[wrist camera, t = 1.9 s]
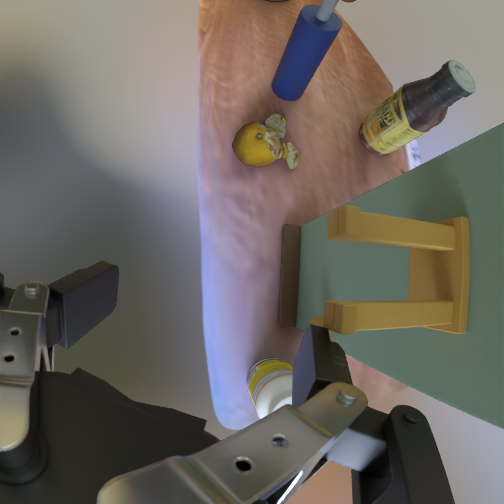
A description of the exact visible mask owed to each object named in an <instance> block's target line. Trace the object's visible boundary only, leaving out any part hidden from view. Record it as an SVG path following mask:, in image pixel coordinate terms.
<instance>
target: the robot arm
mask: <svg viewBox="0 0 504 504" xmlns="http://www.w3.org/2000/svg"><path fill="white" fill-rule="evenodd" d="M267 1H274V2H281V1H287V0H267ZM118 280H119V268H118V267H117V266H116V265H113V264H110V263H107V262H105V261H100V262H98V263H96V264H94V265H92V266H90V267H88V268H84V269H79V270H77V271H75V272H73V273H71V275H70V274H69V275H67V276H65V278H61V279H59V280H57V281H55V282H53V283H51V284H49V285H47V286H46V285H45V284H43V283H40V282H25V283H22V284H20V285H18V286H17V287H16V289H12V288H8V287H5V286H4V276H3V274H1V273H0V504H284V503H286V502H287V501H288V500H289V499H290V497H292V496H293V495H294V494H295V493H296V492H297V491H298V490H299V489H300V488H301V487H302V486H304V485H305V484H306V483H307V482H308V481H309V480H310V479H311V478H312V477H314V476H315V475H316V474H317V473H318V472H319V471H320V470H321V469H322V468H323V467H324V466H325V465H326V464H327V463H328V462H329V461H332V462H334V463H337V464H340V465H343V466H345V467H348V468H351V473H352V495H353V504H455V502H454V499H453V495H452V492H451V488H450V485H449V482H448V478H447V475H446V472H445V469H444V466H443V463H442V460H441V457H440V454H439V451H438V448H437V445H436V442H435V439H434V437H433V434H432V431H431V428H430V426H429V423H428V421H427V419H426V417H425V416H424V415H423V414H422V413H421V412H420V411H419V410H417V409H415V408H413V407H411V406H407V405H398V406H395V407H394V408H393V409H392V411H391V412H390V414H386V413H383V412H380V411H378V410H375V409H373V408H370V407H368V406H367V404H368V400H367V397H366V395H365V394H364V393H363V392H362V391H361V390H360V389H358V388H357V387H355V386H353V383H352V379H351V375H350V371H349V367H348V363H347V360H346V356H345V352H344V350H343V349H342V348H341V346H340V345H339V344H338V343H337V342H332V341H331V340H330V335H329V330H328V329H327V328H325V327H322V326H318V325H314V324H309V325H308V327H307V329H306V332H305V334H304V337H303V340H302V342H301V345H300V348H299V350H298V353H297V355H296V358H295V362H294V366H293V379H292V405H290V404H286V405H284V406H282V407H280V408H279V409H277V410H275V411H274V412H272V413H270V414H269V415H267V416H265V417H263V418H262V419H260V420H258V421H257V422H255V423H253V424H251V425H249V426H248V427H246V428H244V429H242V430H240V431H239V432H237V433H235V434H233V435H231V436H229V437H227V438H225V439H223V440H222V441H221V440H219V439H218V438H217V437H215V436H214V435H212V434H210V433H209V432H207V431H205V425H206V422H207V420H205V419H201V418H198V417H195V416H192V415H189V414H186V413H183V412H180V411H177V410H174V409H171V408H165V407H160V406H155V405H150V404H145V403H140V402H136V401H133V400H131V399H129V398H128V397H126V396H125V395H123V394H122V393H121V392H119V391H118V390H116V389H115V388H114V387H112V386H111V385H110V384H109V383H107V382H106V381H104V380H102V379H100V378H98V377H96V376H94V375H92V374H90V373H88V372H86V371H84V370H82V369H80V368H77V369H76V370H75V371H74V372H73V373H72V374H71V375H70V374H66V373H61V372H54V347H53V345H55V344H58V345H60V346H62V347H64V348H65V349H68V348H70V347H71V346H72V345H73V344H74V343H76V342H77V341H78V340H79V339H80V338H82V337H83V336H84V335H85V334H86V333H88V332H89V331H90V330H91V329H92V328H94V327H95V326H96V325H97V324H99V323H100V322H101V321H102V320H104V319H105V318H106V317H107V316H108V315H110V314H111V313H112V312H113V310H114V309H115V306H116V303H117V293H118Z"/></svg>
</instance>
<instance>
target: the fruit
mask: <svg viewBox="0 0 504 504" xmlns="http://www.w3.org/2000/svg"><path fill="white" fill-rule="evenodd" d="M285 125H286V120H285V119H284V117H283V115H280V114H276V113H274V114H271V115H270V116H269V117H268V118H267V119H266V120H265V125H264V124H261V123H259V122H251V123H249V124H247V125H244V126H243V127H242V128H241V129H240V130H239V131H238V132H237V133H236V136H235V138H234V141H233V143H232V148H233V151H234V152H235V155H236V156H238V158H239V159H240V160H241V161H242V162H243V163H244V164H246V165H250V166H252V165H253V166H254V167H261V166H265V165H268V164H272V163H273V162H274V161H276V159H282V158H284V159H285V160H286V161H287V162H288V167H289V168H290V169H295V168H296V166H297V163H298V162H299V159H300V152H299V151H298V150H297V149H296V148H295V147H293V146H292V143H284V142H280V140H279V139H280V138H281V137H284V135H285V134H286V130H285Z"/></svg>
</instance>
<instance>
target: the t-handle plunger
mask: <svg viewBox="0 0 504 504" xmlns="http://www.w3.org/2000/svg"><path fill="white" fill-rule="evenodd" d="M338 1H339V0H323V1H322V3H321V5H320V6H318V5H307V6H305V7H303V8H302V9H301V11H300V14H299V16H298V19H297V21H296V24H295V26H294V28H293V31H292V33H291V36H290V38H289V41H288V43H287V46H286V48H285V51H284V53H283V56H282V58H281V61H280V64H279V66H278V69H277V71H276V74H275V76H274V79H273V82H272V89H273V91H274V93H275V94H276V95H277V96H278V97H280V98H282V99H284V100H289V101H292V100H296V99H298V98H300V97H301V96H302V94H303V92H304V90H305V89H306V87H307V85H308V84H309V82H310V80H311V78H312V77H313V75H314V73H315V71H316V70H317V68H318V66H319V65H320V63H321V61H322V59H323V58H324V56H325V54H326V53H327V51H328V49H329V48H330V46H331V44H332V42H333V41H334V39H335V37H336V36H337V34H338V32H339V31H340V29H341V27H342V22H341V19H340V18H339V17H338V16H337V15H336V14H335V13H334V12H333V10H334V8H335V6H336V5H337V2H338ZM342 1H344V2H354V1H356V0H342Z"/></svg>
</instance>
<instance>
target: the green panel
mask: <svg viewBox="0 0 504 504" xmlns="http://www.w3.org/2000/svg"><path fill="white" fill-rule="evenodd" d="M309 324H314V325H318V326H322V327H325V328H327V329H328V330H329V335H330V340H331V341H332V342H337V343H338V344H339V345H340V346H341V348H342V349H343V350H344V352H345V354H347V355H349V356H351V357H353V358H355V359H357V360H359V361H360V362H362V363H364V364H366V365H368V366H370V367H372V368H374V369H376V370H378V371H380V372H382V373H384V374H386V375H388V376H390V377H392V378H394V379H396V380H398V381H400V382H402V383H404V384H406V385H408V386H410V387H412V388H414V389H416V390H418V391H420V392H422V393H425V394H426V395H429V396H431V397H433V398H435V399H437V400H439V401H441V402H444V403H446V404H448V405H450V406H452V407H454V408H456V409H459V410H461V411H463V412H465V413H467V414H470V415H472V416H474V417H476V418H479V419H481V420H483V421H485V422H488V423H490V424H492V425H495V426H497V427H499V428H502V429H504V123H502V124H500V125H498V126H496V127H494V128H492V129H491V130H489V131H487V132H485V133H483V134H481V135H479V136H477V137H475V138H473V139H471V140H469V141H467V142H465V143H463V144H461V145H459V146H458V147H455V148H453V149H451V150H449V151H447V152H445V153H443V154H441V155H439V156H437V157H436V158H434V159H432V160H430V161H428V162H426V163H424V164H422V165H420V166H418V167H416V168H414V169H412V170H410V171H408V172H406V173H404V174H402V175H400V176H398V177H396V178H394V179H392V180H390V181H388V182H386V183H385V184H383V185H381V186H379V187H377V188H375V189H373V190H371V191H369V192H367V193H365V194H363V195H361V196H359V197H357V198H355V199H353V200H351V201H349V202H347V203H345V204H343V205H341V206H339V207H337V208H336V209H334V210H332V211H330V212H328V213H326V214H324V215H322V216H320V217H318V218H316V219H314V220H312V221H310V222H308V223H306V224H304V225H302V226H298V225H287V224H285V225H284V226H283V233H282V255H281V275H280V293H279V310H278V326H279V327H297V328H299V329H301V330H303V331H304V332H306V329H307V327H308V325H309Z"/></svg>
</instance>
